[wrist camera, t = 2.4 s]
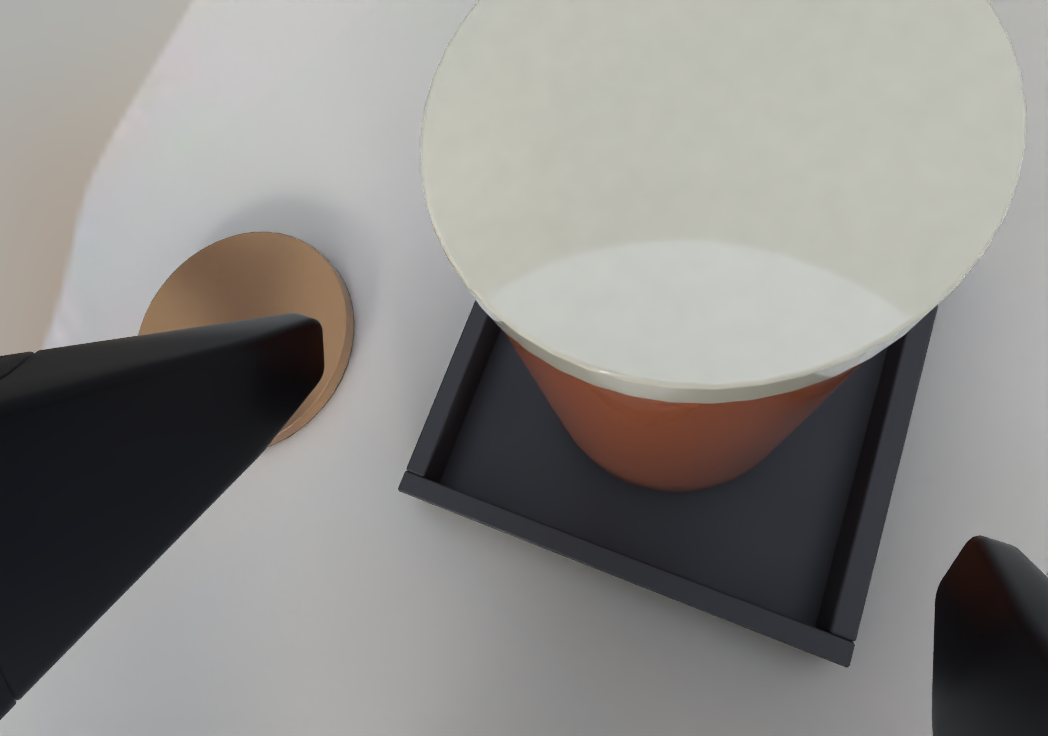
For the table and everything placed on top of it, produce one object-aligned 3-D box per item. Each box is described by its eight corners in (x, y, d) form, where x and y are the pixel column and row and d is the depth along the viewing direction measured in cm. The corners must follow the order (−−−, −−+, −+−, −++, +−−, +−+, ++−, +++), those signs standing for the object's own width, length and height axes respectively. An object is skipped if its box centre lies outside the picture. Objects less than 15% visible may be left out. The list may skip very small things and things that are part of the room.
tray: (828, 658, 17) (849, 668, 15) (418, 496, 20) (396, 490, 19) (933, 247, 20) (961, 215, 18) (553, 163, 23) (544, 128, 21)
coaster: (224, 504, 21) (212, 503, 21) (108, 348, 24) (95, 343, 24) (400, 333, 22) (393, 327, 22) (268, 199, 25) (259, 191, 24)
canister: (680, 552, 18) (726, 530, 7) (500, 377, 21) (314, 147, 9) (859, 364, 19) (1177, 54, 7) (663, 214, 21) (675, -190, 10)
